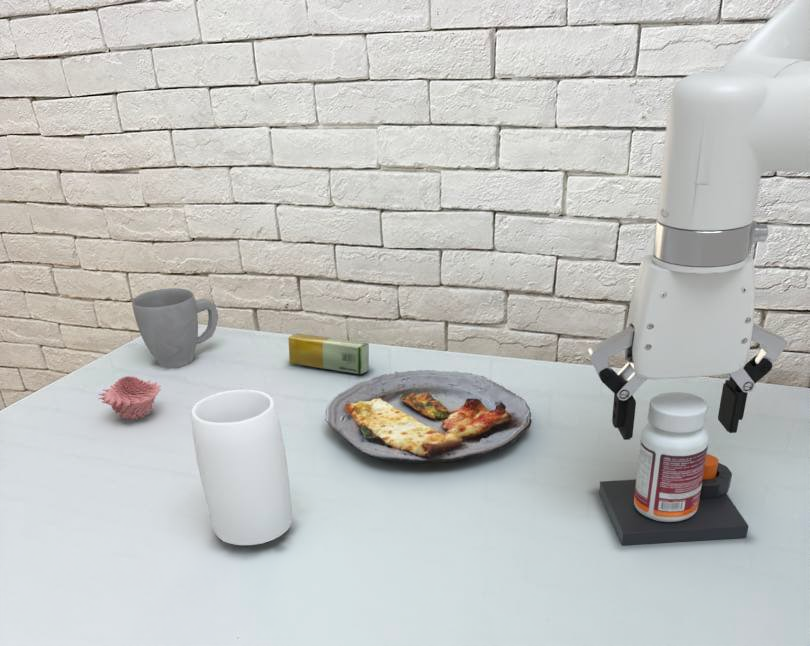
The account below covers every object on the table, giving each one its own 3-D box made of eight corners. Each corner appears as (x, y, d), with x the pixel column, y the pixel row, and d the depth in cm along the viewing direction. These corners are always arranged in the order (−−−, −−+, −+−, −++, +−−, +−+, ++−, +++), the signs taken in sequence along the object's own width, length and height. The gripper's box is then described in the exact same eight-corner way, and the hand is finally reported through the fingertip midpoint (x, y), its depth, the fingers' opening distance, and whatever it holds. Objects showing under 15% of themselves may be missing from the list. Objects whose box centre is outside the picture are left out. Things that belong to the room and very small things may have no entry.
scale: (716, 482, 91) (720, 457, 89) (754, 537, 82) (759, 511, 80) (597, 489, 91) (599, 464, 89) (621, 545, 82) (624, 519, 80)
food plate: (568, 438, 101) (569, 411, 99) (398, 497, 91) (396, 468, 90) (452, 372, 119) (451, 348, 117) (300, 416, 110) (297, 390, 108)
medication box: (370, 370, 121) (370, 342, 119) (361, 375, 119) (361, 347, 117) (297, 358, 126) (296, 331, 124) (288, 363, 124) (286, 336, 122)
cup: (206, 523, 89) (180, 397, 81) (285, 504, 91) (266, 381, 84) (222, 566, 82) (194, 434, 75) (306, 545, 85) (288, 415, 77)
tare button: (711, 467, 88) (713, 452, 87) (719, 480, 86) (722, 465, 85) (685, 469, 88) (688, 454, 87) (693, 481, 86) (696, 466, 85)
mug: (157, 377, 123) (142, 312, 117) (138, 359, 129) (123, 296, 124) (234, 357, 128) (223, 293, 123) (212, 341, 134) (201, 279, 129)
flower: (178, 415, 112) (170, 375, 109) (123, 436, 107) (113, 396, 104) (147, 399, 117) (138, 360, 113) (93, 419, 112) (82, 379, 109)
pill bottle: (709, 506, 84) (727, 401, 78) (675, 531, 81) (692, 423, 75) (654, 485, 88) (667, 383, 82) (620, 509, 85) (631, 404, 78)
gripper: (787, 225, 73) (752, 407, 83) (586, 237, 73) (575, 418, 83) (825, 248, 67) (783, 442, 77) (606, 262, 67) (591, 454, 77)
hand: (675, 429), depth 80 cm, fingers open, 9 cm apart
